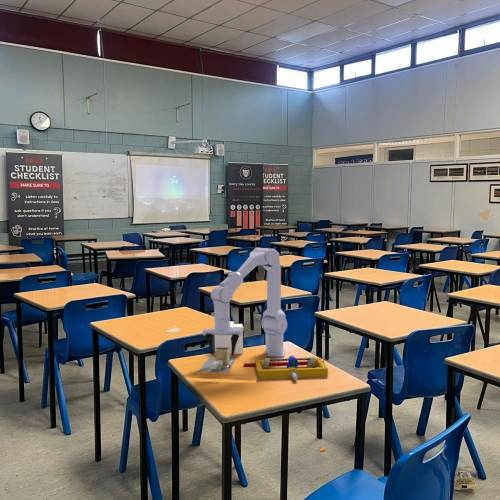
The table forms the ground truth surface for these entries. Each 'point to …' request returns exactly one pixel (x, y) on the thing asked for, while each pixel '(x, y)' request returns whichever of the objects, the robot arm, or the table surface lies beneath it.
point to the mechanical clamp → (289, 368)
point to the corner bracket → (226, 339)
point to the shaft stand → (216, 365)
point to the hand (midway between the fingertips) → (222, 354)
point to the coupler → (223, 355)
